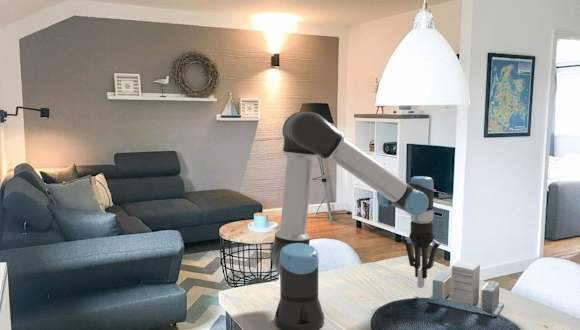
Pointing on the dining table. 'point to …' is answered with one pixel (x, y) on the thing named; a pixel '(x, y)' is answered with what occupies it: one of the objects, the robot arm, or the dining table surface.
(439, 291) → the block
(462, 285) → the supplement box
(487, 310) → the vise
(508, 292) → the dining table surface
